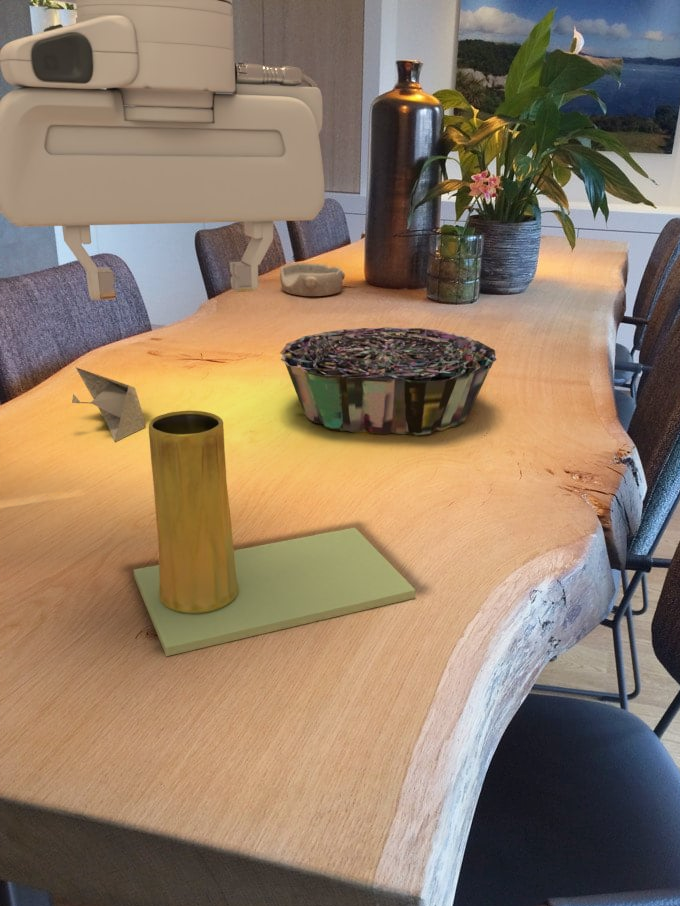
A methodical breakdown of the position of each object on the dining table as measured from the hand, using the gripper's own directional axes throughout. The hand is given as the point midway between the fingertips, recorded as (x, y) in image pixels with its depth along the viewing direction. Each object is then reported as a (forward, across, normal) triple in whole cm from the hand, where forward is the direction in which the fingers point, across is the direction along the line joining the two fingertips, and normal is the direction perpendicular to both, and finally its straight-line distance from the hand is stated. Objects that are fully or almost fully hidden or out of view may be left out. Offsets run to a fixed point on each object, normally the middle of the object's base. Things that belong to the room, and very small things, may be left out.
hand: (176, 294), depth 55 cm
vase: (+24, 0, 0) cm, 24 cm away
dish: (+25, -54, -114) cm, 128 cm away
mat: (+24, -6, 0) cm, 25 cm away
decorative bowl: (+24, -34, -36) cm, 55 cm away
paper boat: (+24, 0, -44) cm, 50 cm away
